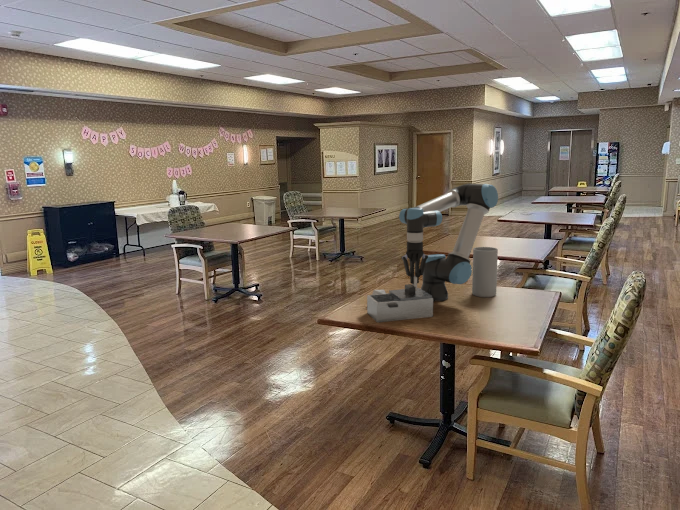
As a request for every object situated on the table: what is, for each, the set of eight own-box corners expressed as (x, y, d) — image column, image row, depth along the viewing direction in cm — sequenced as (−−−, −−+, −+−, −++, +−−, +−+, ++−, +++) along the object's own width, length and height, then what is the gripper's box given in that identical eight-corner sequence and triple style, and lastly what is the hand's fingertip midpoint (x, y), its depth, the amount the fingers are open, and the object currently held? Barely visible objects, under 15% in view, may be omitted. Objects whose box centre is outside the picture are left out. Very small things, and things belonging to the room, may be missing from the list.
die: (382, 310, 258) (392, 293, 259) (367, 301, 258) (376, 284, 260) (381, 311, 266) (390, 294, 268) (366, 302, 267) (375, 286, 268)
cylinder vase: (470, 291, 287) (472, 246, 282) (494, 291, 285) (495, 246, 280) (473, 297, 275) (474, 251, 270) (497, 297, 273) (499, 251, 268)
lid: (418, 289, 256) (419, 280, 256) (431, 297, 242) (432, 288, 241) (389, 292, 253) (389, 283, 252) (400, 300, 238) (400, 291, 237)
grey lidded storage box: (418, 306, 260) (418, 289, 258) (434, 317, 242) (434, 299, 240) (366, 312, 253) (365, 294, 252) (378, 323, 235) (378, 304, 234)
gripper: (424, 239, 248) (424, 287, 252) (398, 240, 245) (398, 289, 249) (431, 241, 241) (430, 290, 245) (404, 243, 238) (404, 293, 242)
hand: (414, 290), depth 247 cm, fingers closed
